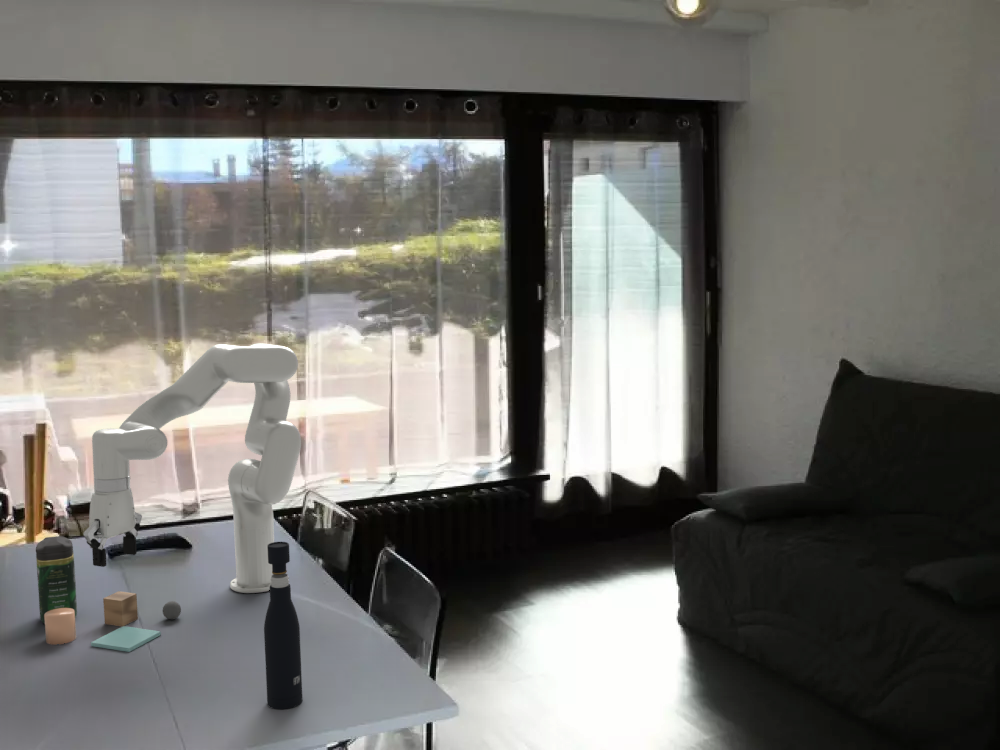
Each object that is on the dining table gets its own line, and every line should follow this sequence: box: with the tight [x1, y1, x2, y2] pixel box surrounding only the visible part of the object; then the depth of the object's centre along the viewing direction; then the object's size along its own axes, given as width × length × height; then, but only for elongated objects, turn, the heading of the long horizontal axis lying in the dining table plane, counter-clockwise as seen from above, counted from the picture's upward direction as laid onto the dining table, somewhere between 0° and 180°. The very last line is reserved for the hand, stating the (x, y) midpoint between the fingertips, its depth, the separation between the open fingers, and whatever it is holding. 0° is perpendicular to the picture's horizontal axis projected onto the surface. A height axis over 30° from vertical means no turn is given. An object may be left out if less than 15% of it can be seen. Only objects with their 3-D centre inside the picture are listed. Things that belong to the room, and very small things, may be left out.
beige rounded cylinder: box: [44, 608, 77, 646], centre depth 228 cm, size 6×6×6 cm
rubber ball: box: [162, 600, 182, 620], centre depth 239 cm, size 4×4×4 cm
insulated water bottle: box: [263, 541, 303, 710], centre depth 193 cm, size 6×6×30 cm
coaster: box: [90, 625, 162, 653], centre depth 227 cm, size 10×10×1 cm
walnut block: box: [102, 590, 139, 627], centre depth 238 cm, size 5×5×6 cm
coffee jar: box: [35, 535, 78, 625], centre depth 240 cm, size 10×8×19 cm
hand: (115, 559), depth 236 cm, fingers open, 9 cm apart
